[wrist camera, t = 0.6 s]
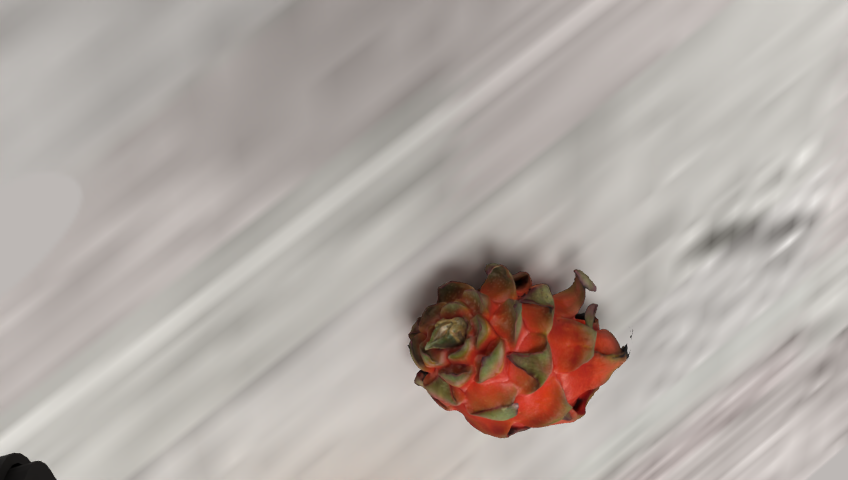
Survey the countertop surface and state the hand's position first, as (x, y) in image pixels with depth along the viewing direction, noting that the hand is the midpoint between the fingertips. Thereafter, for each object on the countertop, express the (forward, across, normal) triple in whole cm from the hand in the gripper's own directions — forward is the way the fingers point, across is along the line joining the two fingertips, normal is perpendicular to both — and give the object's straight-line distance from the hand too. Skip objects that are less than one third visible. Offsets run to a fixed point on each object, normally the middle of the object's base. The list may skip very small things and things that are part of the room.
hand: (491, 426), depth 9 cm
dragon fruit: (+30, -4, +19) cm, 35 cm away
